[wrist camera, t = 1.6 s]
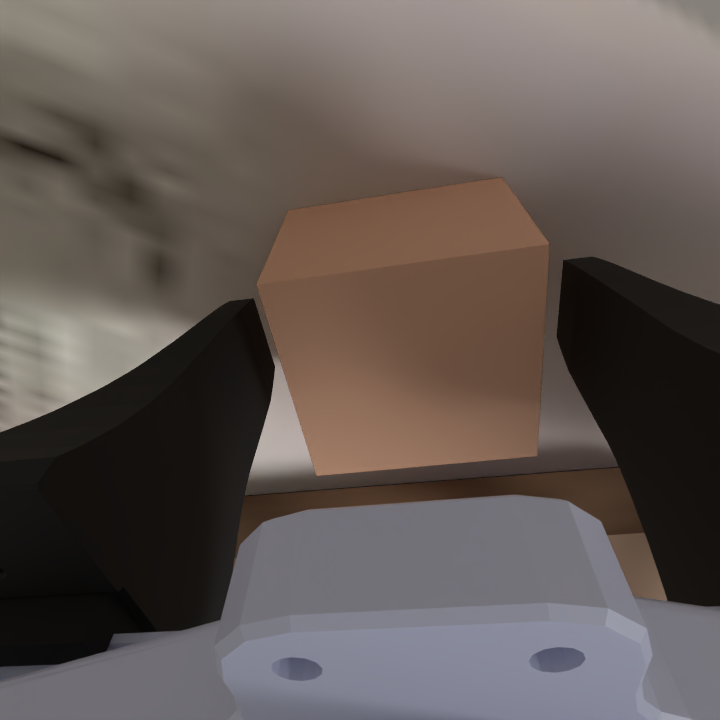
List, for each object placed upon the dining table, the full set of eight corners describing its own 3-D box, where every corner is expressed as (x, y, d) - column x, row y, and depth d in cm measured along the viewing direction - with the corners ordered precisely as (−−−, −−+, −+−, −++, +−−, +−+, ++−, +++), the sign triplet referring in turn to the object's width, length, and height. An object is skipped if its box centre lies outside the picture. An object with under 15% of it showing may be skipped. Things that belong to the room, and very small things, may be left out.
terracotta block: (500, 175, 11) (549, 244, 8) (501, 353, 14) (537, 456, 11) (289, 208, 12) (256, 284, 9) (329, 372, 15) (316, 475, 12)
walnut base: (655, 464, 16) (694, 529, 14) (599, 671, 25) (618, 730, 23) (219, 498, 18) (199, 560, 16) (306, 680, 27) (300, 736, 25)
